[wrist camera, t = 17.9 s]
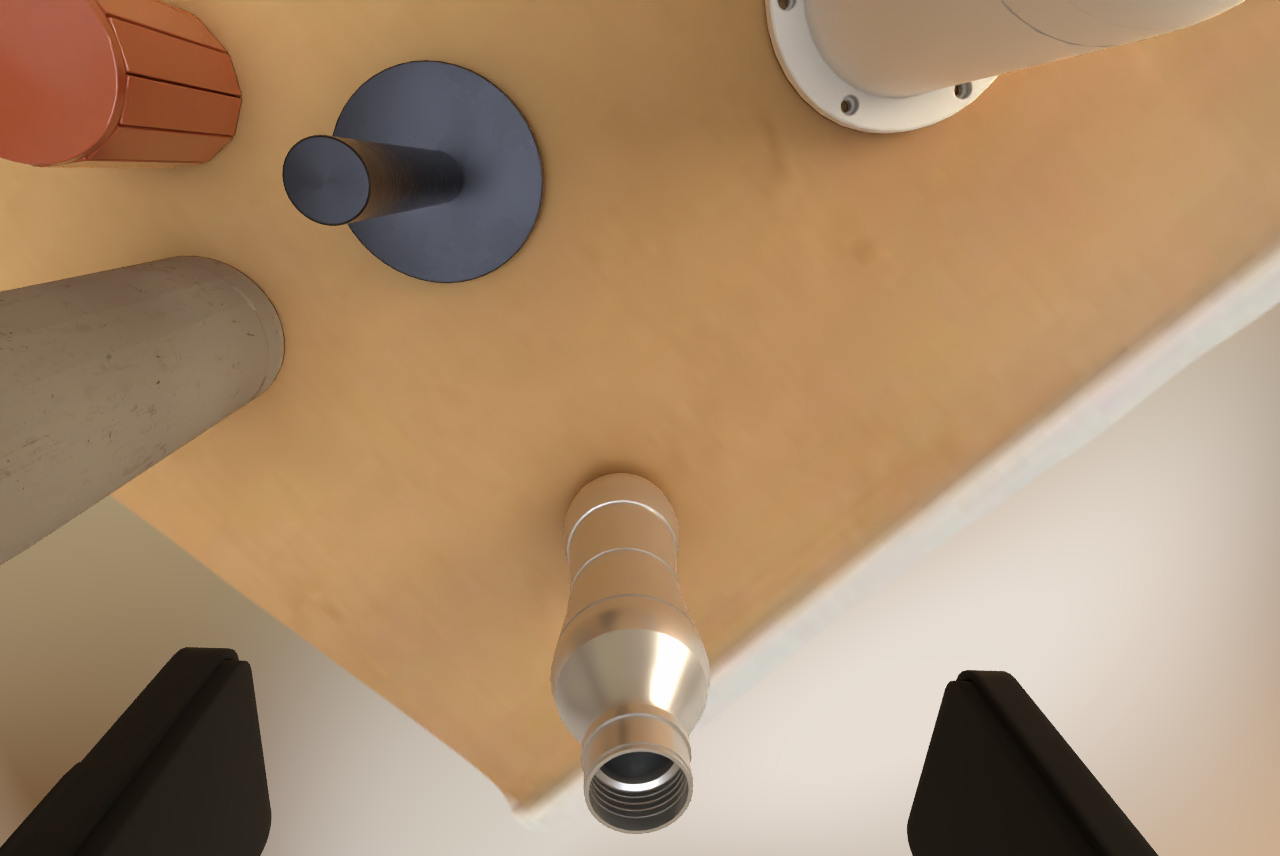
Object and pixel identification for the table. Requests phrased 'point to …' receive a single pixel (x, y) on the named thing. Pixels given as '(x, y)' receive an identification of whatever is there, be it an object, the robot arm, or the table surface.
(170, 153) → the cup
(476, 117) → the bowl
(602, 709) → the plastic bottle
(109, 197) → the table surface
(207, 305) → the thermos bottle
